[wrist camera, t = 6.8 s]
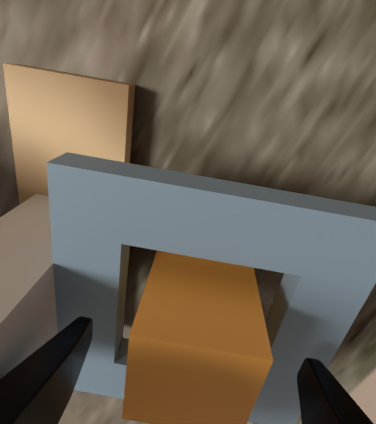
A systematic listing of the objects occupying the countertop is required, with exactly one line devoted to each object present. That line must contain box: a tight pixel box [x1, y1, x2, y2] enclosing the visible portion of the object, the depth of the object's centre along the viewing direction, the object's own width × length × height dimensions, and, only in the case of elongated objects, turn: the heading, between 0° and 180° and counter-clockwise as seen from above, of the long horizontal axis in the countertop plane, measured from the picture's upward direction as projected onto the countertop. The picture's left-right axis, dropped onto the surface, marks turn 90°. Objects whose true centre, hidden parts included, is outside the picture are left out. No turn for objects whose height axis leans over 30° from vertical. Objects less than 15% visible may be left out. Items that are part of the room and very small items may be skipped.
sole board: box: [3, 63, 135, 205], centre depth 14 cm, size 14×5×1 cm, turn 171°
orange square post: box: [122, 250, 273, 424], centre depth 11 cm, size 4×4×8 cm
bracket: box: [0, 152, 376, 424], centre depth 10 cm, size 10×13×8 cm
